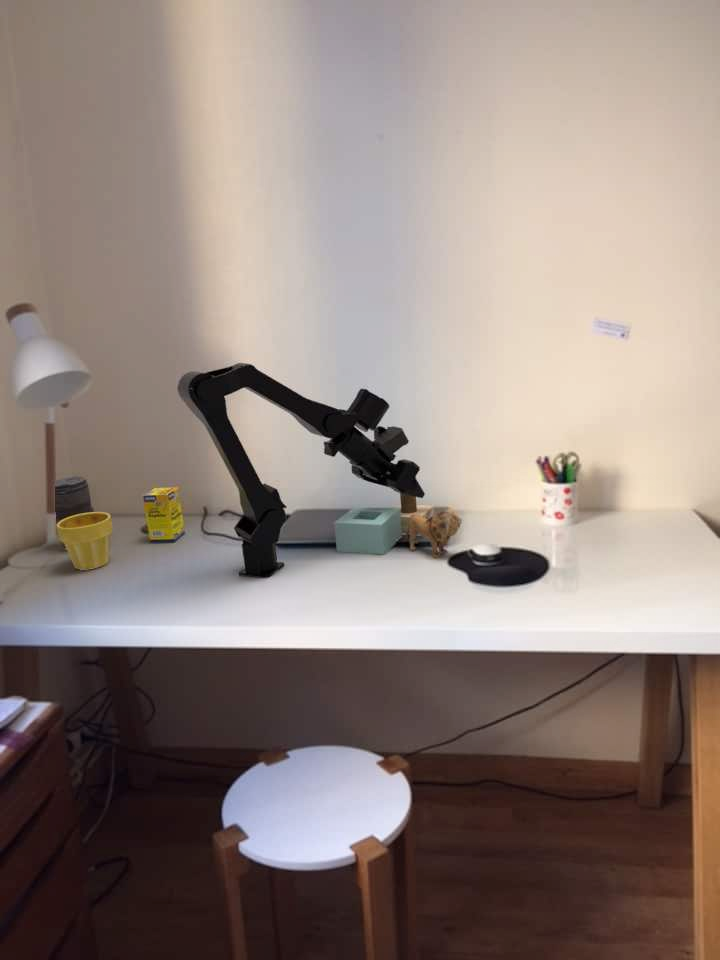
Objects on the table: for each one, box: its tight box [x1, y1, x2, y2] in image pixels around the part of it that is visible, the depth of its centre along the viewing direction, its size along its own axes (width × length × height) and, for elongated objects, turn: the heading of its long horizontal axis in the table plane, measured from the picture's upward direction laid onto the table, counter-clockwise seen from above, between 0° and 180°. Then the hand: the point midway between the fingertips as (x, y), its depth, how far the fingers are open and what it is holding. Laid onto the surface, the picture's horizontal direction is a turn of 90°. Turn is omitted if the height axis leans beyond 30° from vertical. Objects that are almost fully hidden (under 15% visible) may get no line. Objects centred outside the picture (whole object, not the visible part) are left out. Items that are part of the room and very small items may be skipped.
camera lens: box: [54, 476, 95, 548], centre depth 162 cm, size 8×8×15 cm
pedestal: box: [392, 504, 435, 533], centre depth 154 cm, size 8×8×4 cm
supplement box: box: [142, 487, 186, 544], centre depth 162 cm, size 6×6×11 cm
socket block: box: [333, 506, 403, 556], centre depth 147 cm, size 10×10×6 cm
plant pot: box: [56, 511, 114, 570], centre depth 150 cm, size 10×10×10 cm
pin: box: [399, 493, 417, 513], centre depth 153 cm, size 3×3×8 cm
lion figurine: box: [398, 509, 463, 559], centre depth 140 cm, size 15×5×9 cm, turn 46°
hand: (410, 491), depth 153 cm, fingers open, 9 cm apart
